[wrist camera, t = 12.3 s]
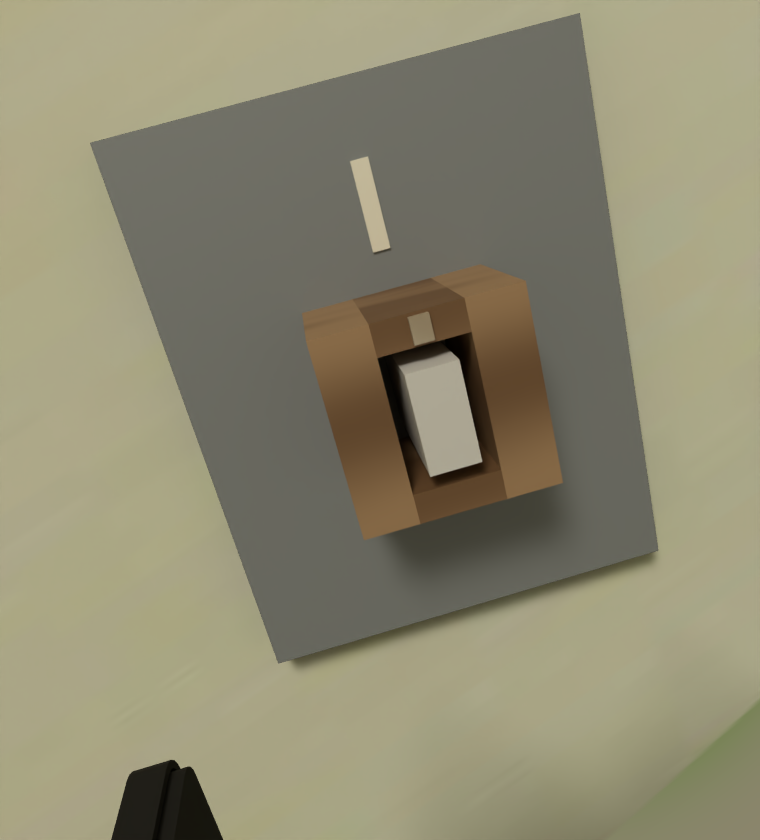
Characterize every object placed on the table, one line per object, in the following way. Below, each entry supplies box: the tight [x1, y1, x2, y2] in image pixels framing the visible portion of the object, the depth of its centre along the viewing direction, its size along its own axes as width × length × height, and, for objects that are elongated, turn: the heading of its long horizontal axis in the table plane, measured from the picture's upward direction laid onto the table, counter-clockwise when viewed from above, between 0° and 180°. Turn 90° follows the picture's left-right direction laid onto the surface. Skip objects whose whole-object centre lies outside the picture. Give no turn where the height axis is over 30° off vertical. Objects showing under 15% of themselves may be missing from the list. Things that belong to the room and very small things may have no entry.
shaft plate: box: [90, 13, 658, 664], centre depth 24 cm, size 20×16×7 cm
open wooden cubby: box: [302, 264, 563, 540], centre depth 24 cm, size 6×6×5 cm
